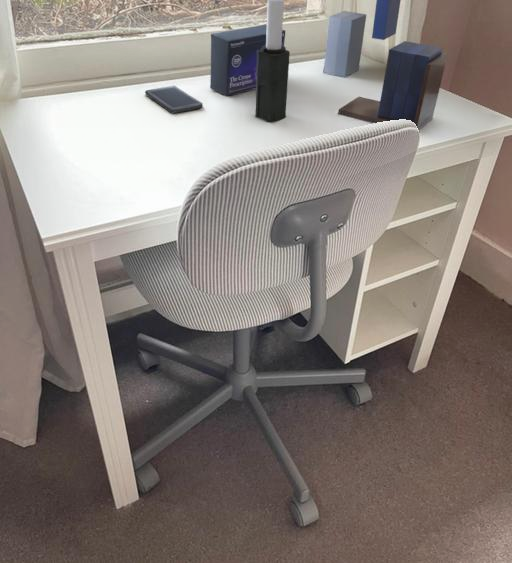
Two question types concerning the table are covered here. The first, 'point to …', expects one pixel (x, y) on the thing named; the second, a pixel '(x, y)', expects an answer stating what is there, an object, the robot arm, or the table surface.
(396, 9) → the navy book
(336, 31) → the grey upright block
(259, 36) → the box
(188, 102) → the cell phone
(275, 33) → the candle
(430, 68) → the book rack
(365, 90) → the table surface
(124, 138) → the table surface
